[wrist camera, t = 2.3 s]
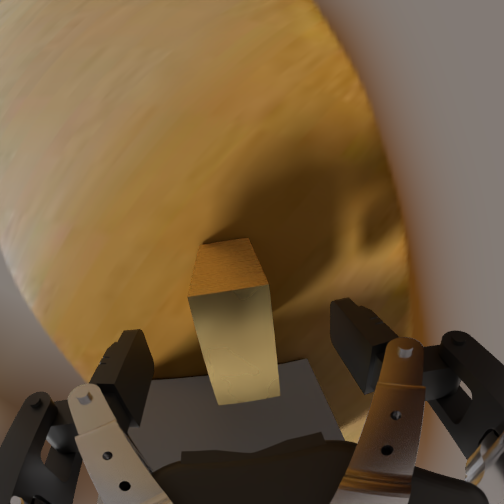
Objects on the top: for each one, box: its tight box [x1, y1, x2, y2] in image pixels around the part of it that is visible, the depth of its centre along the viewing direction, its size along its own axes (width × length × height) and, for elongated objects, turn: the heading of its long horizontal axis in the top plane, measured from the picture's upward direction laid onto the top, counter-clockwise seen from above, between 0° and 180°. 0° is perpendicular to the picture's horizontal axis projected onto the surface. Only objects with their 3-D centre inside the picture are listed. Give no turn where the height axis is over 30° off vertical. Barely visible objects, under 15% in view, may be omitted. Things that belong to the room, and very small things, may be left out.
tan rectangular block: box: [188, 238, 280, 406], centre depth 12 cm, size 5×2×6 cm, turn 7°
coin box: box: [97, 359, 345, 504], centre depth 13 cm, size 12×12×10 cm
